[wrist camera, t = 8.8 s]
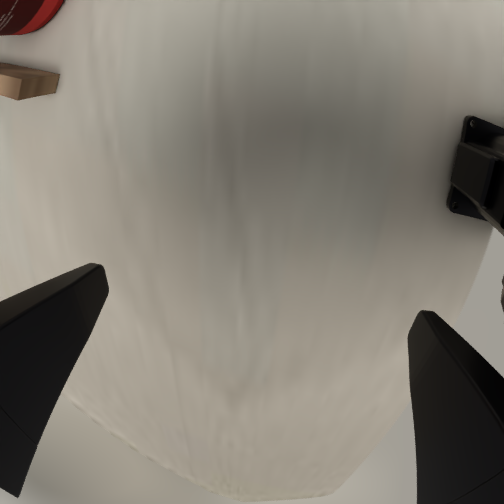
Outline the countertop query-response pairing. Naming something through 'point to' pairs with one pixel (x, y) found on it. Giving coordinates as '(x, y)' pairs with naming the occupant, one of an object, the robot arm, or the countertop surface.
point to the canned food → (25, 15)
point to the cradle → (26, 82)
